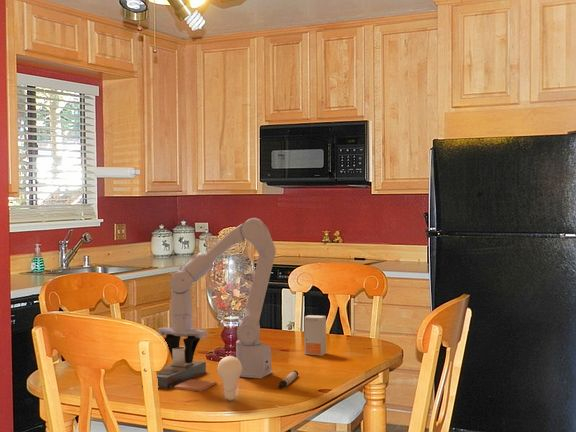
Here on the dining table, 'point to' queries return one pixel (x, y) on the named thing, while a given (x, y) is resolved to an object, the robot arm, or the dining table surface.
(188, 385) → the mat
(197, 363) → the grey slotted tray
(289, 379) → the marker
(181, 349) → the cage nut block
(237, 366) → the lightbulb
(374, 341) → the dining table surface
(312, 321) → the skincare box
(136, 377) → the dining table surface
